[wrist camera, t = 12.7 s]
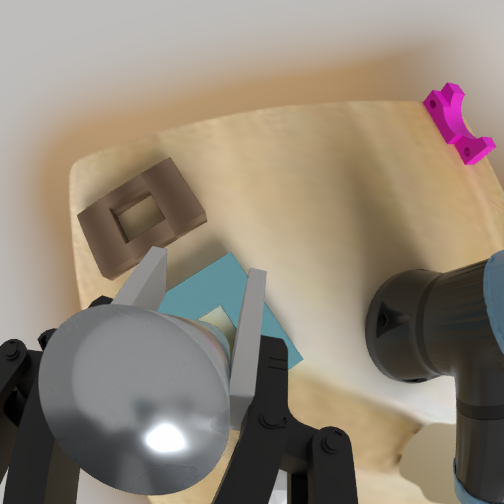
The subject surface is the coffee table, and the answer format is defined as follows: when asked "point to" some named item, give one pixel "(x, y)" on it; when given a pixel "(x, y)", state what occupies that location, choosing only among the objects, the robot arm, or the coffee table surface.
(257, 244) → the coffee table surface
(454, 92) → the magenta curved bracket
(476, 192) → the coffee table surface
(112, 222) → the brown rectangular frame
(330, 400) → the coffee table surface
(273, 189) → the coffee table surface
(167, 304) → the seat block
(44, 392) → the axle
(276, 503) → the geometric ball
